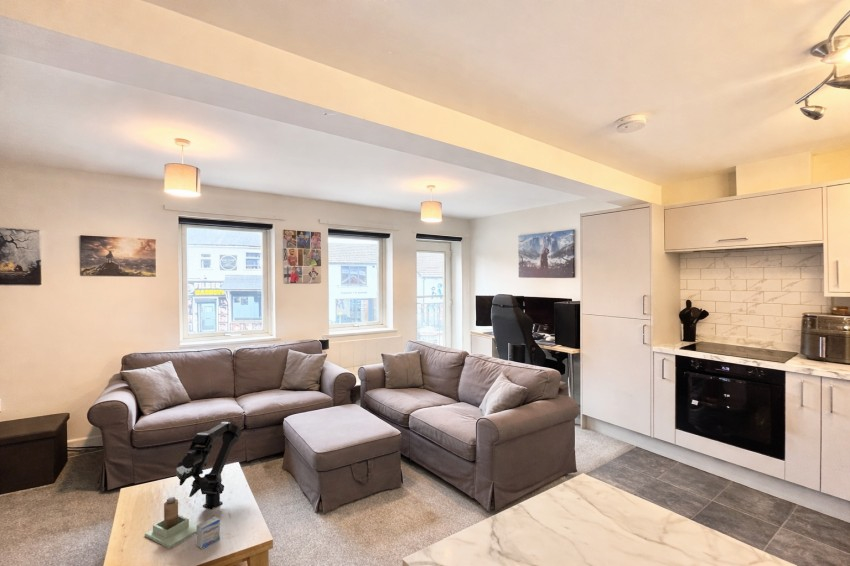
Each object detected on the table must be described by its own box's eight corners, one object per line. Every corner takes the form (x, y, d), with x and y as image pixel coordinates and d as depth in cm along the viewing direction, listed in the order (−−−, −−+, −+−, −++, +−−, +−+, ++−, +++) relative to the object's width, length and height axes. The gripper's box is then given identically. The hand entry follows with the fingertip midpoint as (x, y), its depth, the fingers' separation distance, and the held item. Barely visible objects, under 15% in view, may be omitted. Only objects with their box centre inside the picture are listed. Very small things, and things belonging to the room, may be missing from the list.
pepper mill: (180, 526, 176) (180, 497, 176) (168, 533, 171) (168, 503, 171) (173, 523, 178) (173, 495, 178) (161, 530, 174) (161, 500, 174)
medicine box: (201, 549, 164) (201, 528, 164) (195, 545, 166) (196, 525, 166) (220, 539, 170) (220, 519, 170) (214, 535, 173) (214, 515, 173)
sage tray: (202, 530, 176) (202, 520, 176) (169, 548, 164) (169, 538, 164) (177, 518, 184) (177, 509, 184) (144, 535, 172) (144, 526, 172)
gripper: (173, 451, 185) (158, 482, 184) (193, 474, 175) (178, 507, 175) (195, 448, 194) (182, 478, 194) (216, 470, 185) (201, 501, 184)
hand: (185, 490), depth 186 cm, fingers open, 9 cm apart
